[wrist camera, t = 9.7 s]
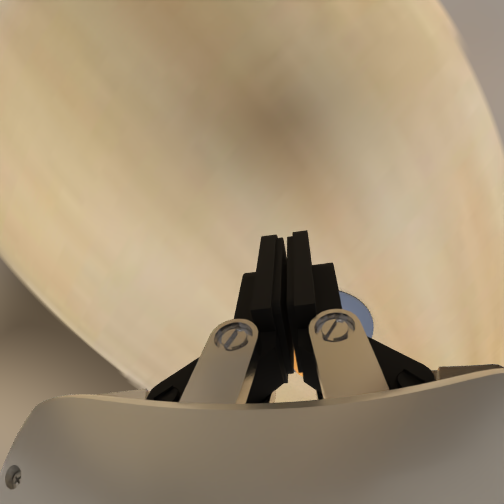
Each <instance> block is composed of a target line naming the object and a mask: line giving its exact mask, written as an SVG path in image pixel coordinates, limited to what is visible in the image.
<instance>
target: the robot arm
mask: <svg viewBox="0 0 504 504" xmlns="http://www.w3.org/2000/svg"><path fill="white" fill-rule="evenodd" d="M294 351H295V356H296V362H297V367H298V373H303V379H304V382H305V383H307V384H308V385H309V386H311V387H312V388H314V389H315V390H316V396H317V400H311V401H299V402H283V403H274V402H275V398H276V391H275V390H276V389H277V388H279V387H280V386H281V385H282V384H283V383H288V374H292V373H294ZM0 504H504V367H502V366H500V365H496V364H488V365H472V366H450V367H439V368H438V370H430V369H429V368H428V367H426V366H425V365H423V364H421V363H419V362H417V361H415V360H413V359H411V358H409V357H407V356H405V355H403V354H401V353H399V352H397V351H395V350H393V349H391V348H389V347H387V346H385V345H383V344H381V343H379V342H378V341H376V340H374V339H372V338H370V337H368V336H367V335H366V333H365V331H364V329H363V326H362V324H361V322H360V320H359V319H358V317H357V316H356V315H355V314H353V313H352V312H350V311H347V310H344V309H342V305H341V300H340V294H339V289H338V284H337V279H336V275H335V270H334V265H333V263H326V264H318V265H312V262H311V254H310V247H309V239H308V232H307V230H306V231H299V232H293V236H291V237H287V257H286V251H285V246H284V240H283V238H278V237H277V235H269V236H262V237H261V243H260V249H259V256H258V262H257V269H256V272H252V273H244V274H243V278H242V282H241V287H240V292H239V297H238V301H237V306H236V311H235V316H234V319H232V320H229V321H225V322H223V323H222V324H220V325H218V326H217V327H216V328H215V329H214V330H213V331H212V333H211V334H210V336H209V338H208V341H207V343H206V345H205V347H204V349H203V351H202V354H201V356H200V357H199V358H197V359H196V360H194V361H193V362H191V363H190V364H188V365H187V366H185V367H184V368H182V369H181V370H179V371H178V372H176V373H175V374H173V375H171V376H170V377H168V378H167V379H165V380H164V381H162V382H161V383H159V384H158V385H156V386H155V387H154V388H153V389H152V390H151V391H149V392H148V390H147V389H139V390H131V391H123V392H114V393H104V394H98V395H88V394H74V395H63V396H59V397H54V398H51V399H48V400H45V401H43V402H41V403H39V404H38V405H37V406H36V407H35V408H34V409H33V410H32V411H31V413H30V414H29V416H28V417H27V419H26V420H25V422H24V424H23V425H22V427H21V429H20V431H19V432H18V434H17V436H16V438H15V440H14V442H13V445H12V447H11V449H10V451H9V453H8V455H7V458H6V460H5V462H4V465H3V468H2V470H1V473H0Z"/></svg>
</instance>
